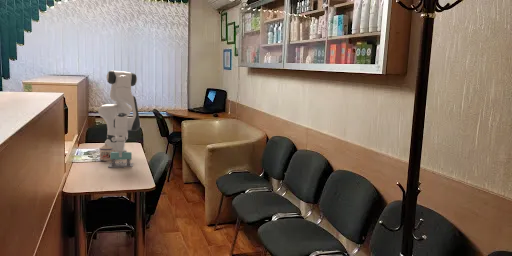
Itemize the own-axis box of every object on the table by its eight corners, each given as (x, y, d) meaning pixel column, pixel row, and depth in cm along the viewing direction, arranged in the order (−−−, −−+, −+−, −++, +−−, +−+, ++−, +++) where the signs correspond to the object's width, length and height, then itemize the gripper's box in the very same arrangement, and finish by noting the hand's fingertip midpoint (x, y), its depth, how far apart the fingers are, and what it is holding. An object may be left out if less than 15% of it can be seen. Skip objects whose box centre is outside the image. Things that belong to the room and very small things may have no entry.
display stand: (109, 164, 297) (110, 156, 296) (133, 164, 301) (133, 156, 300) (108, 167, 287) (108, 160, 286) (132, 167, 291) (132, 160, 290)
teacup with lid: (98, 160, 306) (98, 145, 304) (100, 158, 315) (100, 143, 313) (115, 160, 308) (115, 145, 307) (117, 158, 317) (117, 143, 315)
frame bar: (110, 158, 293) (110, 151, 292) (131, 158, 296) (131, 152, 295) (110, 159, 290) (110, 152, 290) (131, 159, 294) (131, 152, 293)
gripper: (117, 133, 300) (117, 152, 302) (115, 138, 280) (115, 158, 282) (127, 133, 302) (126, 152, 304) (125, 139, 282) (124, 158, 284)
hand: (121, 155), depth 293 cm, fingers open, 8 cm apart
